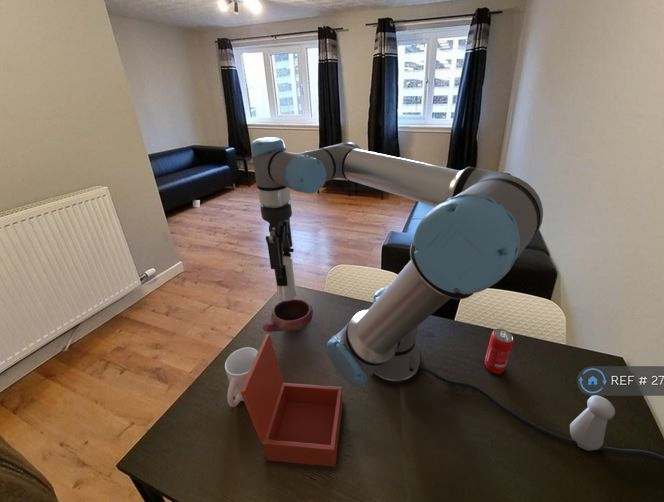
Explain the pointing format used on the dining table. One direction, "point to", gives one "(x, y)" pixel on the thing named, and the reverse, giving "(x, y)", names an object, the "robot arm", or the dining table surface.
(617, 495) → the dining table surface
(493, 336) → the beverage can
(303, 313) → the bowl
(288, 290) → the white cylinder
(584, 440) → the salt shaker
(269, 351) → the box lid
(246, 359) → the mug
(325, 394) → the red tray
